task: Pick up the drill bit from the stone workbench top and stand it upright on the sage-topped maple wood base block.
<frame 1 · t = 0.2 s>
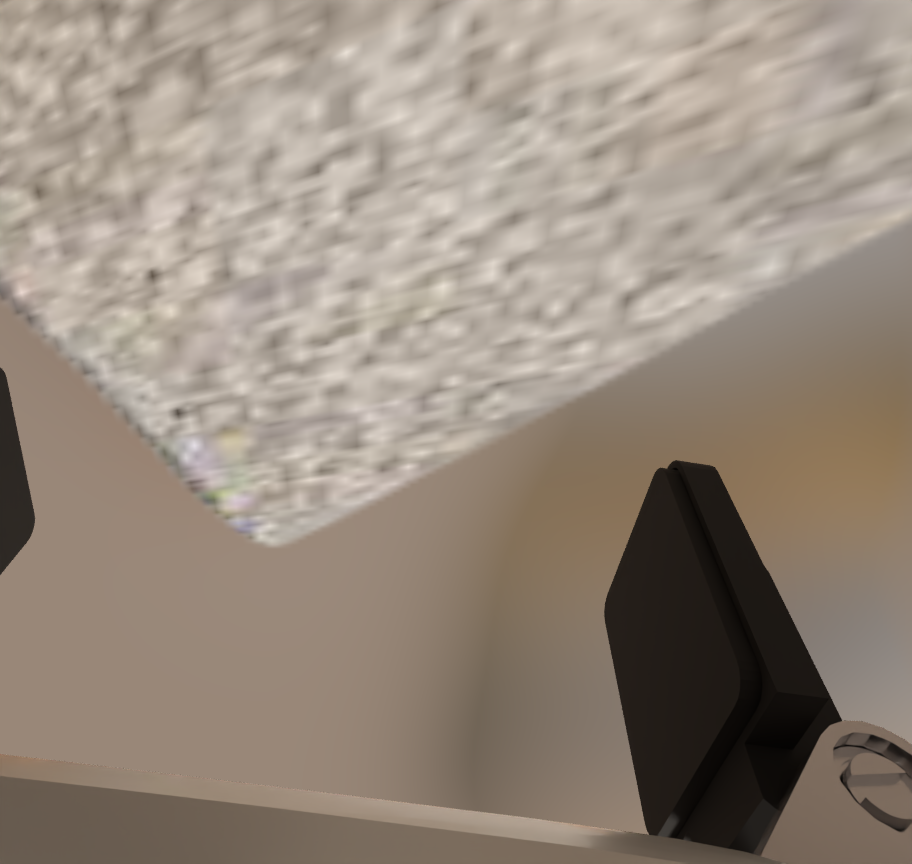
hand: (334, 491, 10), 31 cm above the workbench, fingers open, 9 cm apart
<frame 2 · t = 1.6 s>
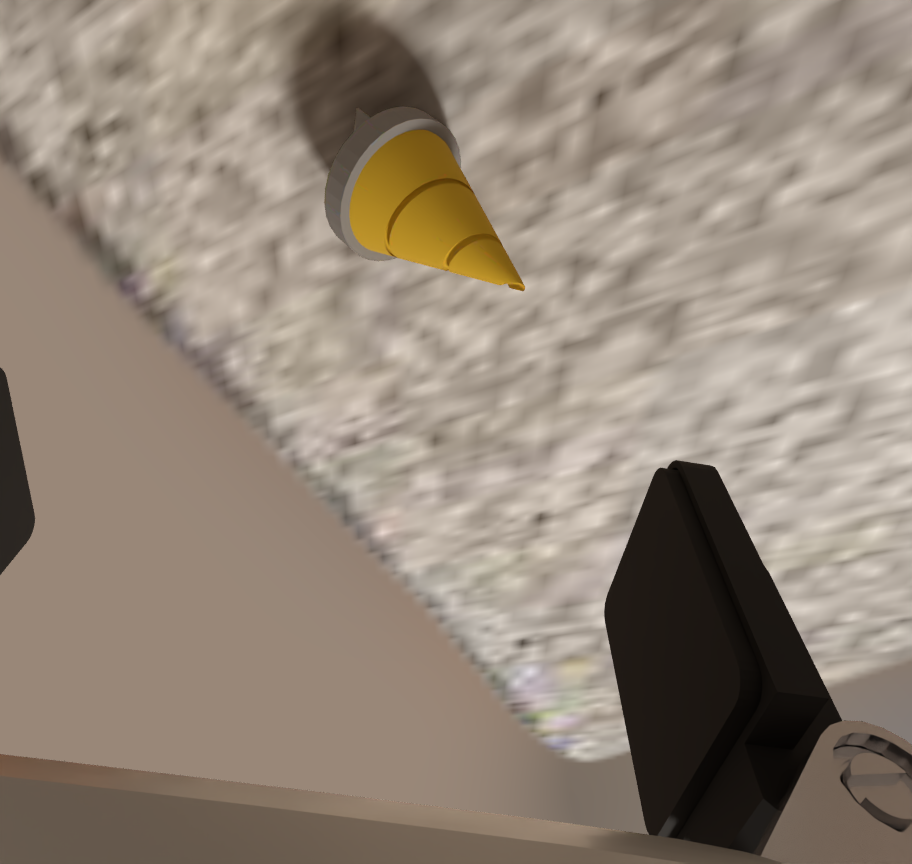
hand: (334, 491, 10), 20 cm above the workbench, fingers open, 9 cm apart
drill bit: (429, 171, 27), on the workbench
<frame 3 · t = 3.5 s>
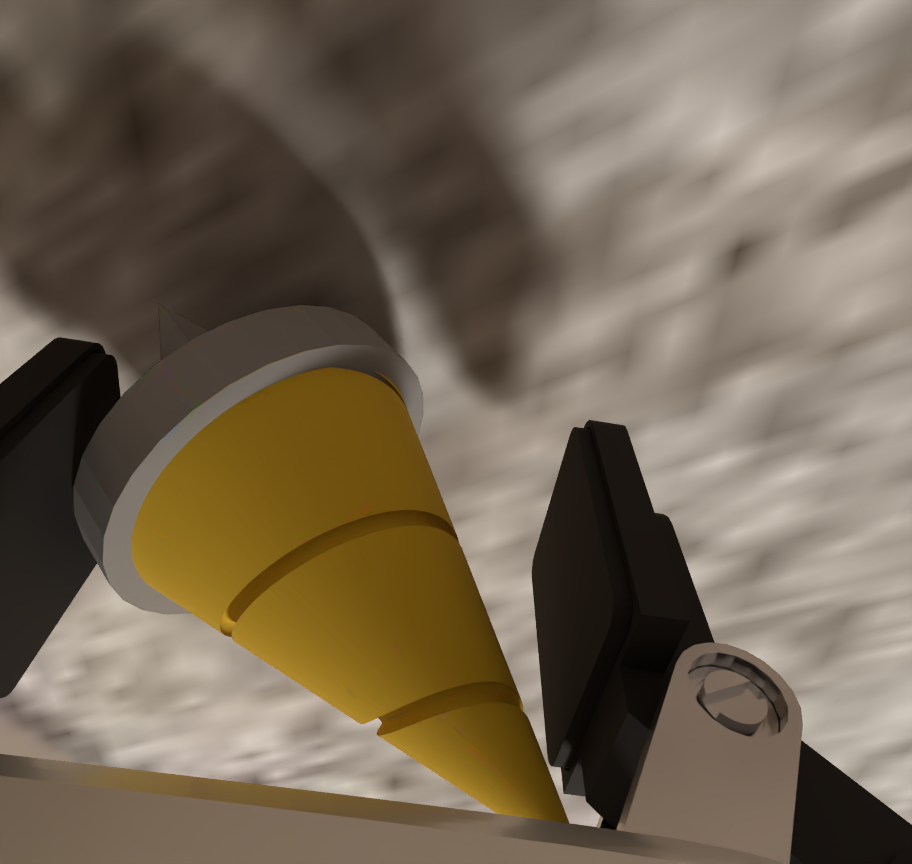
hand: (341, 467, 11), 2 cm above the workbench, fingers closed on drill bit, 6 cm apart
drill bit: (360, 390, 13), on the workbench, touching gripper
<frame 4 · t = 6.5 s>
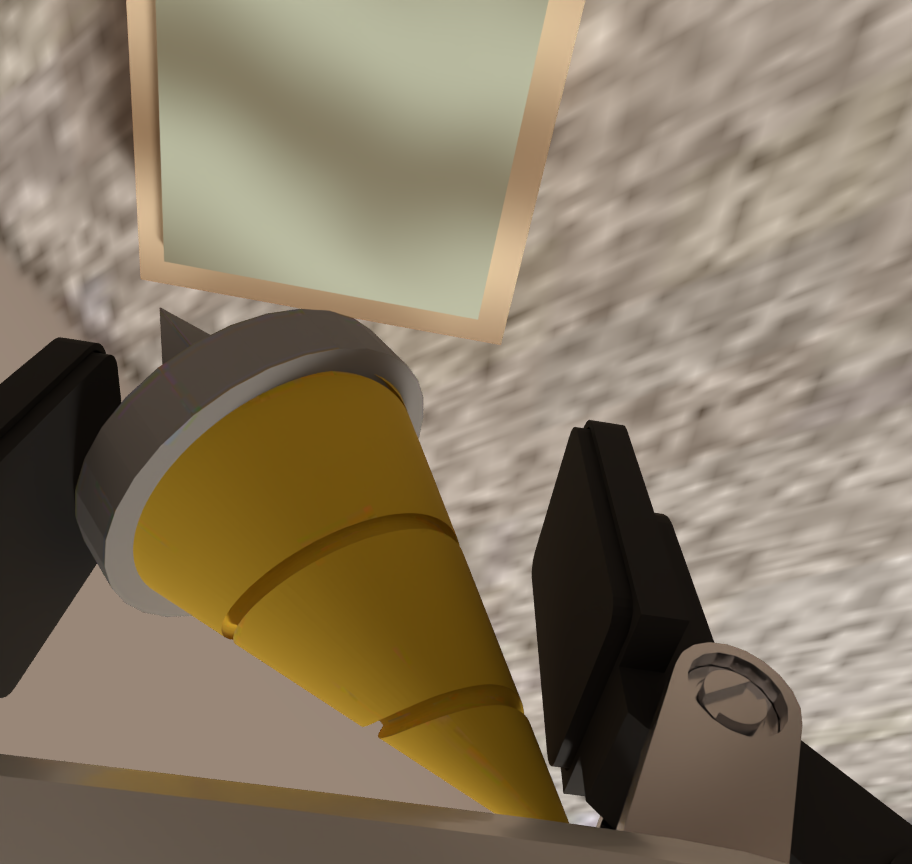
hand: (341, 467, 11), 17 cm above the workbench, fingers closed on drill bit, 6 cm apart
drill bit: (361, 392, 13), point 15 cm above the workbench, touching gripper
base block: (363, 100, 24), on the workbench
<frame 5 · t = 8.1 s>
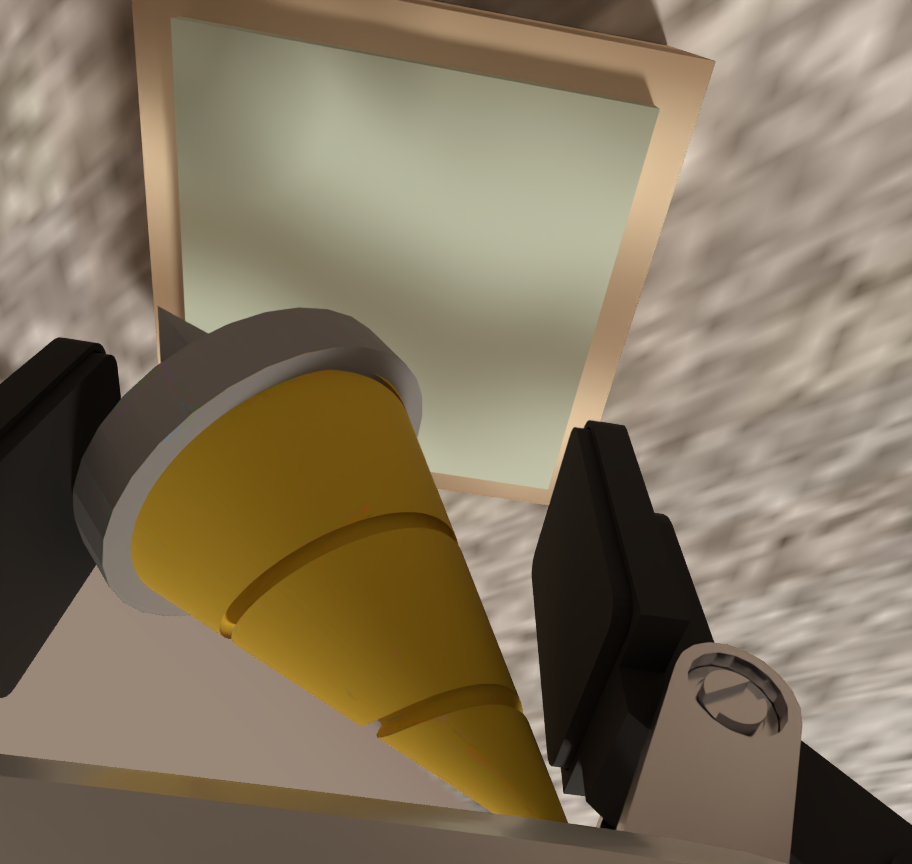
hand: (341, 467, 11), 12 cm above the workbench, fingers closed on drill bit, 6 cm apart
drill bit: (360, 391, 13), point 10 cm above the workbench, touching gripper
base block: (410, 233, 21), on the workbench
when the fingers open (9 cm above the workbench, at t = 9.5 s): drill bit drops 1 cm, resting on base block.
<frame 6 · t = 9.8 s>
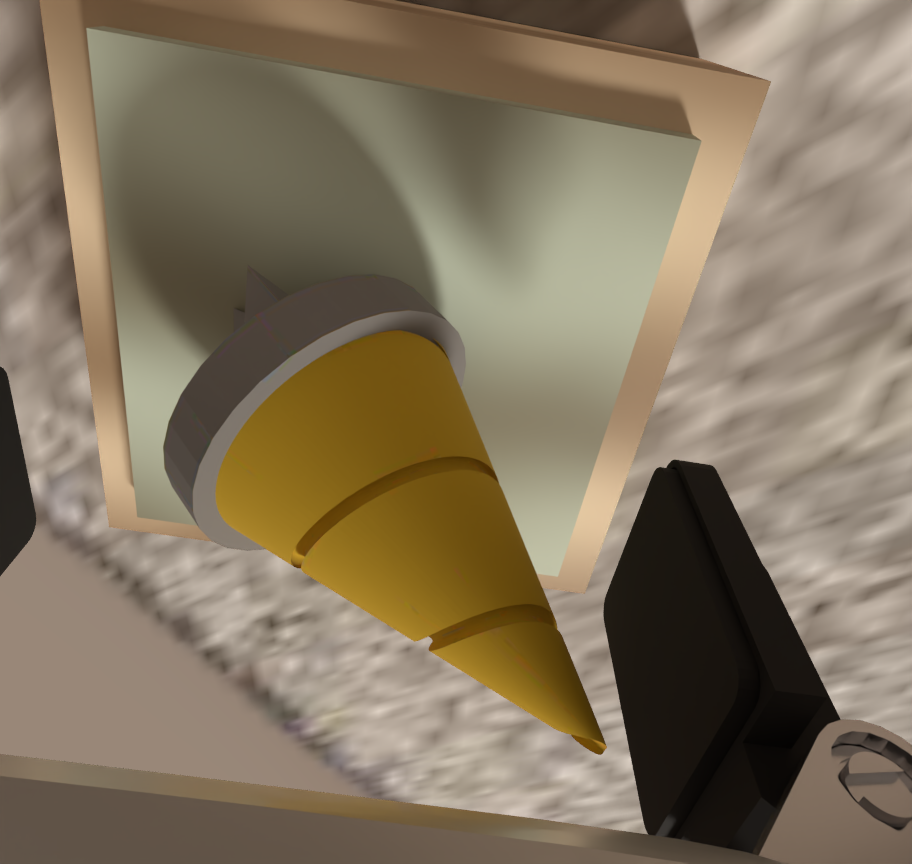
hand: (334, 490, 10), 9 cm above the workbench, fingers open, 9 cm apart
drill bit: (402, 360, 14), point 5 cm above the workbench, touching base block
base block: (397, 273, 18), on the workbench
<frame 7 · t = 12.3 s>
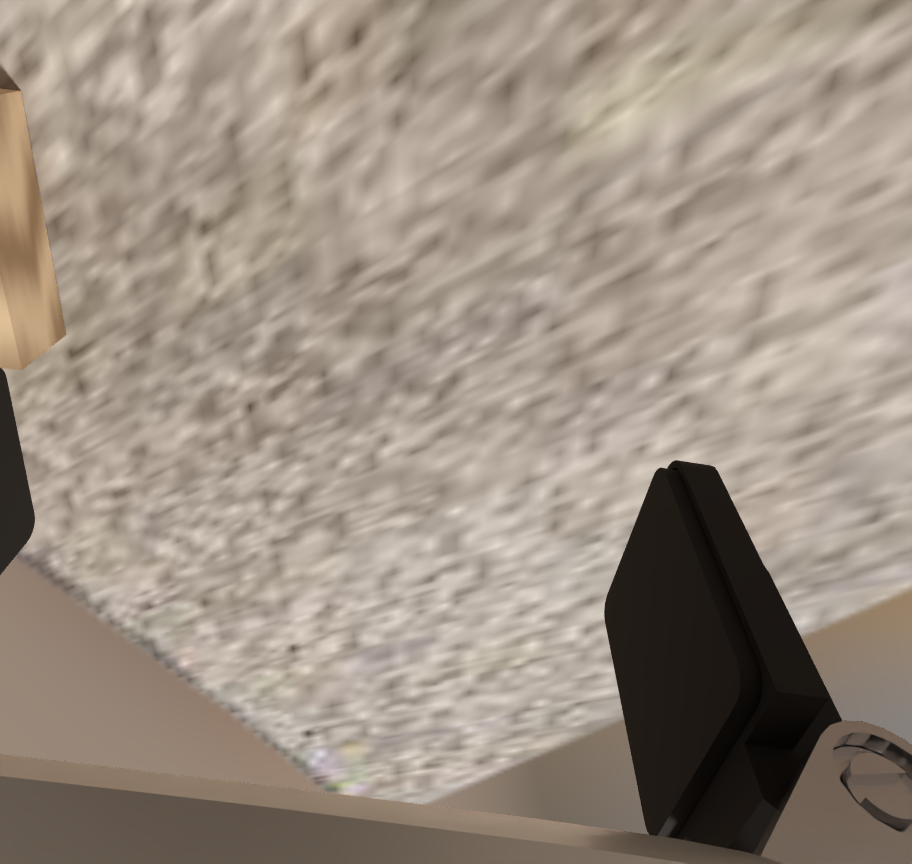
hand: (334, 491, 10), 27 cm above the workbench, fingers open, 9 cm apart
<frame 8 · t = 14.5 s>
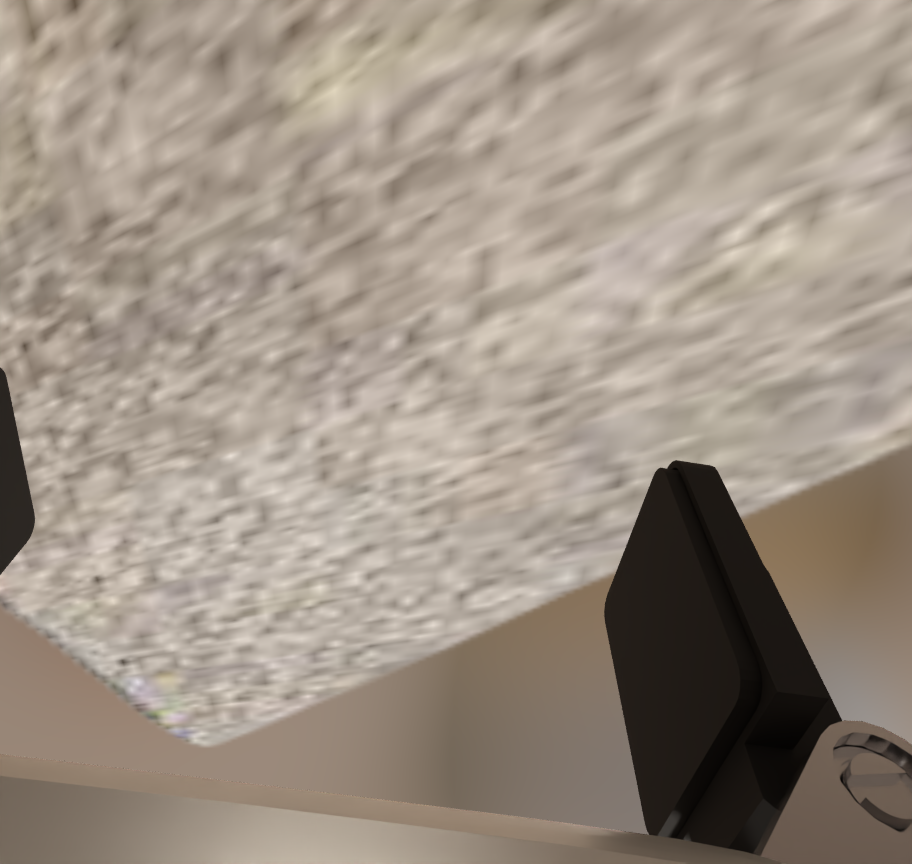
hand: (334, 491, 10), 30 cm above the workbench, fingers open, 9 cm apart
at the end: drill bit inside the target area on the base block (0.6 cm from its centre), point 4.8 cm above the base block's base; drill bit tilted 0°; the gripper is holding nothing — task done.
